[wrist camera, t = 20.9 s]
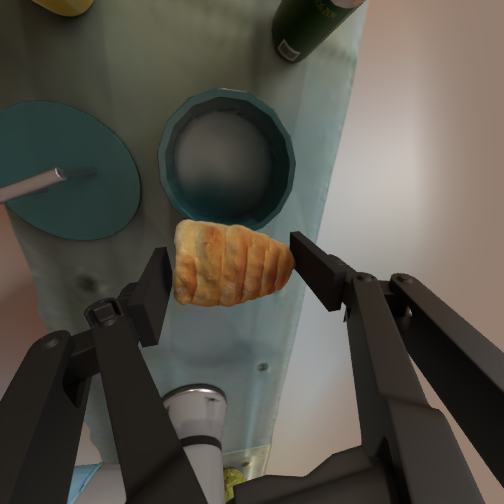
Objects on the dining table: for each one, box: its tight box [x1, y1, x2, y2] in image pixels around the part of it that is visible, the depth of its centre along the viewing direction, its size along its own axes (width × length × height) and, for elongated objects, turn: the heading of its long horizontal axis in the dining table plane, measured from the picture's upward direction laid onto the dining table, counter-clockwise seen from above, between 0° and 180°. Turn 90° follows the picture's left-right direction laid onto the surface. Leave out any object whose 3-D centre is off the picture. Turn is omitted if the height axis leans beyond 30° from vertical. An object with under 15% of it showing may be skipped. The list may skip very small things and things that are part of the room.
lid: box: [0, 101, 142, 240], centre depth 22 cm, size 15×15×9 cm
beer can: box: [272, 0, 365, 62], centre depth 19 cm, size 5×5×12 cm
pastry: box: [172, 220, 296, 307], centre depth 16 cm, size 9×7×4 cm
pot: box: [157, 88, 296, 231], centre depth 26 cm, size 14×14×8 cm
